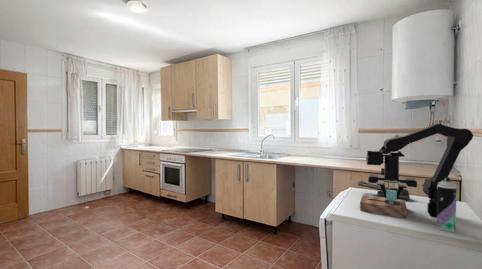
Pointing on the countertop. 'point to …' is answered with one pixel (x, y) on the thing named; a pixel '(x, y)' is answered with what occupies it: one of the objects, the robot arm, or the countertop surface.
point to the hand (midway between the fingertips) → (391, 198)
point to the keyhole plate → (383, 206)
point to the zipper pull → (403, 195)
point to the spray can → (446, 205)
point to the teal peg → (391, 195)
